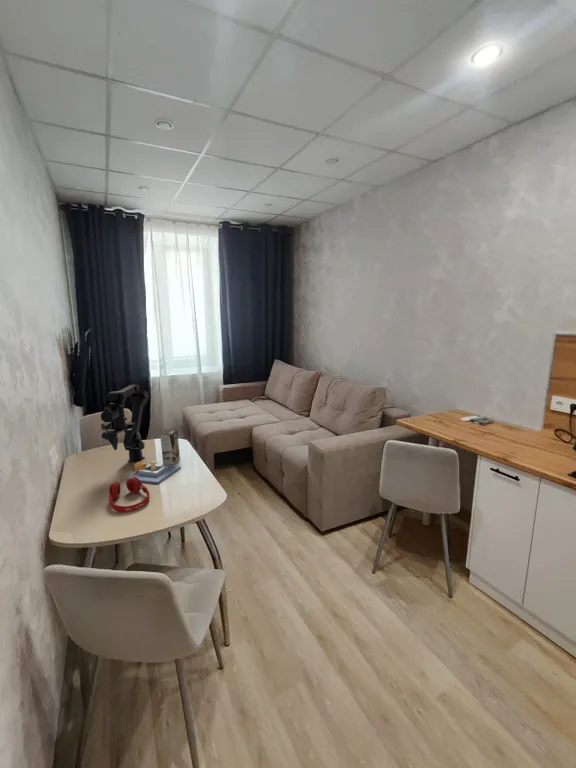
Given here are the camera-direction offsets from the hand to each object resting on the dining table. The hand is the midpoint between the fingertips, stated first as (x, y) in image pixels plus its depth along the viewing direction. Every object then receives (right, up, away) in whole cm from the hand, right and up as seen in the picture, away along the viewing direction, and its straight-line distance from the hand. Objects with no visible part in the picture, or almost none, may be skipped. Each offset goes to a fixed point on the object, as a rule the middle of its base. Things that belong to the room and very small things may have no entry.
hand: (122, 446), depth 183 cm
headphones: (+17, -18, -31) cm, 40 cm away
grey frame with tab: (+16, -11, -5) cm, 20 cm away
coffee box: (+22, -10, +10) cm, 26 cm away
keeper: (+18, -12, -5) cm, 23 cm away
